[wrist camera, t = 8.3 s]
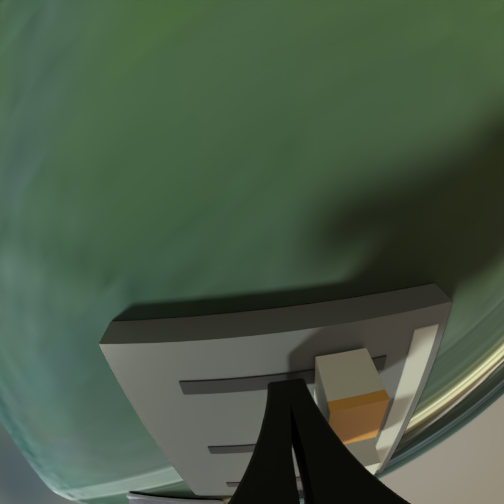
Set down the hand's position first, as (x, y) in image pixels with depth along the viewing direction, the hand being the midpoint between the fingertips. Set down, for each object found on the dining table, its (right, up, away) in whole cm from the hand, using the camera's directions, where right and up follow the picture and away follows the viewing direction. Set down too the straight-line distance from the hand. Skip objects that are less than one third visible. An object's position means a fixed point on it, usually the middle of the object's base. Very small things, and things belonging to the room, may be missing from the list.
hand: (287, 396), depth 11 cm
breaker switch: (+2, +1, +1) cm, 2 cm away
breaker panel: (+1, -4, +4) cm, 6 cm away
